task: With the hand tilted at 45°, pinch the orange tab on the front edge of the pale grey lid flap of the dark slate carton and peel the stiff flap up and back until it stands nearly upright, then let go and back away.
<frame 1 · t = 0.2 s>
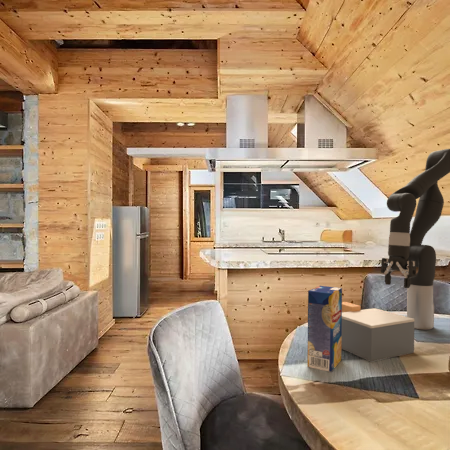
hand: (396, 286, 140), 17 cm above the table, tool pointing down, fingers open, 8 cm apart
lid flap: (365, 312, 123), point 11 cm above the table, hinge at 0.0°
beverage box: (324, 363, 107), on the table
carton: (372, 348, 120), on the table
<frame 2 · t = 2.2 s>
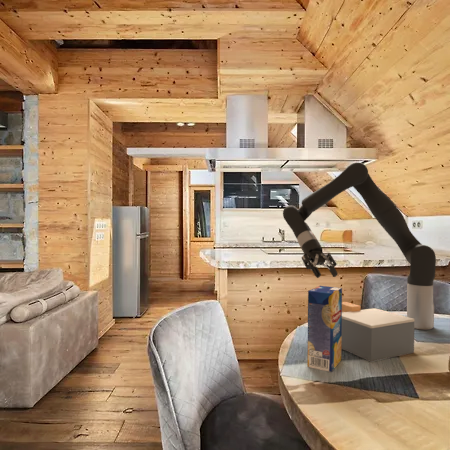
hand: (327, 276, 140), 21 cm above the table, tool tilted 45°, fingers open, 8 cm apart
nothing on the table moved.
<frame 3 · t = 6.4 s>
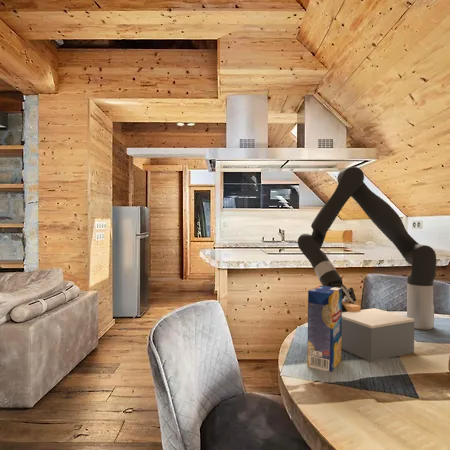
hand: (350, 313, 129), 9 cm above the table, tool tilted 45°, fingers closed on lid flap, 4 cm apart
lid flap: (365, 312, 123), point 11 cm above the table, hinge at 0.0°, touching gripper
everything else where it was.
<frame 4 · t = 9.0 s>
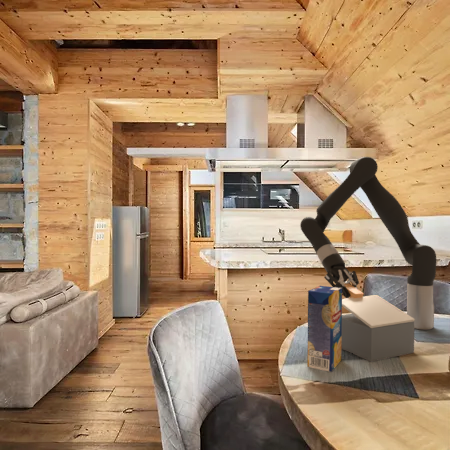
hand: (353, 296, 128), 16 cm above the table, tool tilted 45°, fingers closed on lid flap, 4 cm apart
lid flap: (367, 302, 122), point 15 cm above the table, hinge at 18.4°, touching gripper
everything else where it was.
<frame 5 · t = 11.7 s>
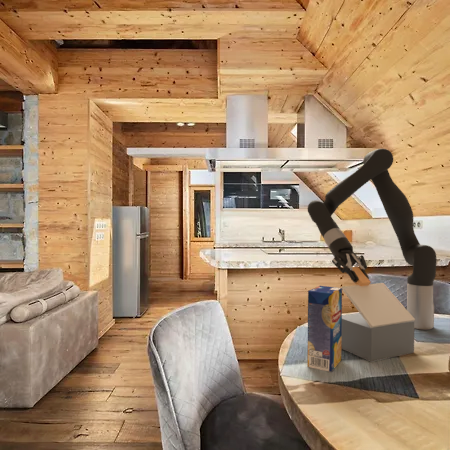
hand: (361, 280, 124), 22 cm above the table, tool tilted 45°, fingers closed on lid flap, 4 cm apart
lid flap: (372, 293, 120), point 18 cm above the table, hinge at 38.1°, touching gripper
everything else where it was.
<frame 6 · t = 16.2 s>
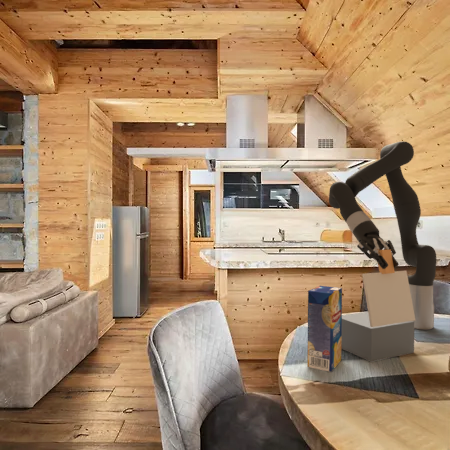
hand: (391, 266, 114), 28 cm above the table, tool tilted 45°, fingers closed on lid flap, 4 cm apart
lid flap: (389, 286, 114), point 22 cm above the table, hinge at 77.3°, touching gripper
everything else where it was.
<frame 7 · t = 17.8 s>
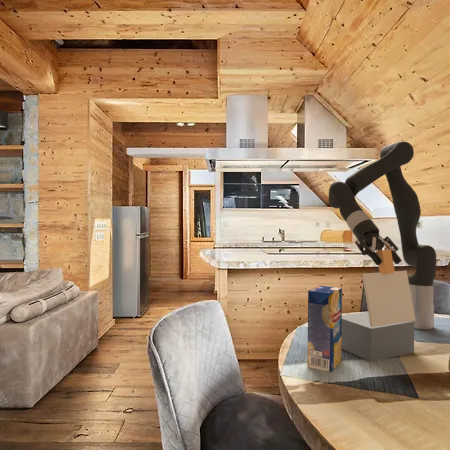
hand: (389, 263, 114), 29 cm above the table, tool tilted 45°, fingers open, 8 cm apart
lid flap: (389, 286, 114), point 22 cm above the table, hinge at 77.5°
everything else where it was.
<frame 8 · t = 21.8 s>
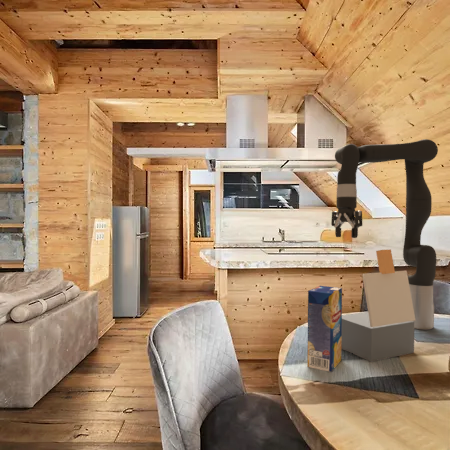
hand: (346, 237, 142), 36 cm above the table, tool pointing down, fingers open, 8 cm apart
nothing on the table moved.
at the end: lid flap at +78° (first picture: +0°); the gripper is holding nothing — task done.
